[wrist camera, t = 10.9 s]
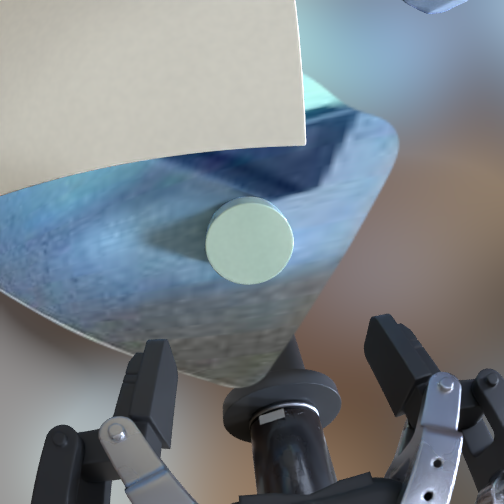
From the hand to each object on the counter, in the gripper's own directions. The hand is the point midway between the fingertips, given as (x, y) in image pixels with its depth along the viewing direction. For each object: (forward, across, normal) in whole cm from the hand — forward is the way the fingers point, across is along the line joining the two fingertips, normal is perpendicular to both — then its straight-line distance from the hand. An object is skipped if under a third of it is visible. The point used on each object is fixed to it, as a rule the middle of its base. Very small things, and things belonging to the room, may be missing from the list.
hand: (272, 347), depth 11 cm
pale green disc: (+12, 0, 0) cm, 12 cm away
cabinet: (+12, +6, -14) cm, 19 cm away
